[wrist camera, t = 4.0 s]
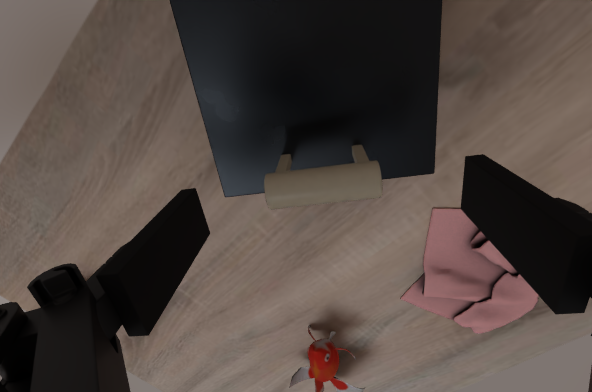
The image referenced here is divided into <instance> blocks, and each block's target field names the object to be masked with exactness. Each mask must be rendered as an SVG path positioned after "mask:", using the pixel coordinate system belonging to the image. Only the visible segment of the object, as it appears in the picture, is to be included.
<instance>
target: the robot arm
mask: <svg viewBox="0 0 592 392" xmlns="http://www.w3.org/2000/svg"><path fill="white" fill-rule="evenodd" d="M461 210H462V211H463V212H464V213H465V214H466V216H467V217H468V218H469V219H470V220H471V221H472V222H473V223H474V224H475V226H476V227H477V228H478V229H479V230H480V231H481V232H482V233H483V234H484V235H485V237H486V238H487V239H488V240H489V241H490V242H491V243H492V244H493V245H494V247H495V248H496V249H497V250H498V251H499V252H500V253H501V254H502V255H503V257H504V258H505V259H506V260H507V261H508V262H509V263H510V264H511V265H512V266H513V268H514V269H515V270H516V271H517V272H518V273H519V274H520V275H521V276H522V278H523V279H524V280H525V281H526V282H527V283H528V284H529V285H530V286H531V287H532V289H533V290H534V291H535V292H536V293H537V294H538V295H539V296H540V297H541V299H542V300H543V301H544V302H545V303H546V304H547V305H548V306H549V307H550V309H551V310H552V311H553V312H554V313H555V314H571V313H584V312H585V309H586V306H587V303H588V300H589V298H590V297H591V298H592V213H589V212H588V211H587V210H585V209H584V208H582V207H580V206H579V205H577V204H575V203H572V202H569V201H566V200H563V199H560V198H553V197H551V196H550V195H548V194H546V193H545V192H543V191H541V190H540V189H538V188H537V187H535V186H533V185H532V184H530V183H529V182H527V181H525V180H524V179H522V178H521V177H519V176H517V175H516V174H514V173H512V172H511V171H509V170H508V169H506V168H504V167H503V166H501V165H500V164H498V163H496V162H495V161H493V160H492V159H490V158H488V157H487V156H485V155H483V154H482V155H474V156H465V167H464V178H463V189H462V201H461ZM209 235H210V231H209V228H208V225H207V222H206V219H205V216H204V213H203V209H202V206H201V203H200V200H199V197H198V194H197V191H196V188H193V189H185V190H181V191H180V192H179V193H178V194H177V195H176V196H175V197H174V198H173V199H172V200H171V201H170V202H169V203H168V204H167V205H166V206H165V207H164V208H163V209H162V210H161V211H160V212H159V213H158V214H157V215H156V216H155V217H154V218H153V219H152V220H151V221H150V222H149V223H148V224H147V225H146V226H145V227H144V228H143V229H142V230H141V231H140V232H139V233H138V234H137V235H136V236H135V237H134V238H133V239H132V240H131V241H130V242H128V243H127V244H125V245H124V246H122V247H120V248H119V249H118V250H117V251H116V252H115V253H114V254H113V255H112V256H113V257H110V258H109V259H108V260H107V261H106V264H103V265H102V266H101V267H100V268H99V269H98V270H97V271H96V272H95V273H94V274H93V275H92V276H91V277H90V278H89V279H88V280H87V281H85V279H84V278H83V276H82V274H81V272H80V271H79V269H78V267H77V266H76V264H71V263H70V264H63V265H60V266H57V267H54V268H52V269H50V270H48V271H46V272H44V273H42V274H41V275H39V276H37V277H36V278H35V279H34V280H33V281H31V282H30V284H29V285H28V287H27V288H28V289H29V291H30V292H31V294H32V295H33V297H34V298H35V299H36V301H37V302H38V304H39V305H40V307H41V308H38V309H35V310H31V311H28V312H24V311H23V310H22V309H21V307H20V306H19V305H18V303H17V302H10V303H5V304H2V305H0V375H1V376H2V380H1V382H0V392H130V388H129V383H128V378H127V373H126V368H125V364H124V359H123V354H122V349H121V344H120V340H119V339H118V337H117V335H116V332H117V331H118V330H119V328H120V327H121V325H123V327H124V328H125V330H126V332H127V334H128V336H147V335H149V334H150V332H151V331H152V329H153V327H154V326H155V324H156V322H157V321H158V319H159V317H160V316H161V314H162V313H163V311H164V309H165V308H166V306H167V304H168V303H169V301H170V299H171V298H172V296H173V294H174V293H175V291H176V289H177V288H178V286H179V284H180V283H181V281H182V279H183V278H184V276H185V274H186V273H187V271H188V269H189V268H190V266H191V264H192V263H193V261H194V259H195V258H196V256H197V254H198V253H199V251H200V249H201V248H202V246H203V244H204V243H205V241H206V240H207V238H208V236H209ZM591 336H592V334H591ZM588 392H592V367H591V375H590V383H589V391H588Z"/></svg>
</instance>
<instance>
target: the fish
mask: <svg viewBox="0 0 592 392" xmlns="http://www.w3.org/2000/svg"><path fill="white" fill-rule="evenodd" d="M309 328H310V325H309V326H308V332H309V334H310V335H311V332H310V330H309ZM335 333H336V332H335V331H331V333H330V338H329V339H320V340H317V341H316V340H315V339H314V338H313V336H312V335H311V337H312V338H313V339H314V340H315V342H313V343H312V344H311V345H310V347H309V348H308V351H307V353H308V357H309V360H310V367H301V368H300V369H299V370H298V371H297V372H296V373H295V374H294V375H293V376H292V380H291V383H290V387H291V386H293V385H295V384H296V383H298V382H300V381H303V380H306V379H310V378H315V392H323V391H324V385H323V382H326V381H329V380H330V381H331V382H332V383H333V385H334V386H335V388H336V390H337V392H363V391H364V389H365V388H366V387H365V388H363V389H362V388H356V387H354V386H351V385H349V384H347V383H346V382H344V381H342V380H340V379H338V378H336V377H334V376H335V374H336V372H337V370H338V367H339V354H338V351H337V350H346V351H348V350H347V349H343V348H336V347H335V345H334V344H333V343H332V342H331V341H330V340H331V338H332V336H333V335H335ZM348 352H349V353H351V352H350V351H348ZM351 354H352V353H351ZM352 356H353V357H354V355H353V354H352ZM354 358H355V357H354ZM355 359H356V358H355ZM290 387H289V388H290Z"/></svg>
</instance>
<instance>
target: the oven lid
mask: <svg viewBox="0 0 592 392" xmlns="http://www.w3.org/2000/svg"><path fill="white" fill-rule="evenodd" d="M170 4H171V7H172V11H173V14H174V18H175V21H176V25H177V29H178V32H179V36H180V39H181V43H182V46H183V50H184V53H185V57H186V60H187V64H188V68H189V71H190V75H191V78H192V82H193V85H194V89H195V92H196V96H197V100H198V103H199V107H200V110H201V114H202V117H203V121H204V124H205V128H206V131H207V135H208V139H209V142H210V146H211V149H212V153H213V156H214V160H215V163H216V167H217V171H218V174H219V178H220V181H221V185H222V188H223V192H224V195H225V197H233V196H241V195H250V194H259V193H265V197H266V202H267V205H268V207H269V209H280V208H290V207H299V206H309V205H318V204H327V203H337V202H346V201H355V200H365V199H374V198H381V196H382V179H391V178H399V177H408V176H417V175H426V174H434V170H435V148H436V126H437V104H438V81H439V59H440V37H441V15H442V0H170Z"/></svg>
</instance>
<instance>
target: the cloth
mask: <svg viewBox="0 0 592 392" xmlns="http://www.w3.org/2000/svg"><path fill="white" fill-rule="evenodd" d="M423 265H424V271H425V273H424V274H423V275H422V276H421V277H420V278H419V280H417V281H416V282H415V283H414V284H413V285H412V286H411V287H410V288H409V289H408V290H407V291H406V293H405V294H404V295H403V296H402V297H401V298H400V299H402V300H404V301H406V302H409V303H411V304H413V305H415V306H418V307H420V308H423V309H425V310H428V311H430V312H432V313H435V314H438V315H441V316H444V317H446V318H448V319H451V320H454V321H455V322H457V323H458V324H459V325H461V326H463V327H471V328H472V330H473V331H474V332H475V333H477V334H478V333H484V332H488V331H491V330H493V329H494V328H499V327H502V326H504V325H506V324H508V323H510V322H511V321H514V320H516V319H518V318H520V317H521V316H523V315H524V314H525V313H527V312H528V311H530V310H532V309H533V308H534V307H535V305H536V304H537V302H538V298H537V297H538V296H539V295H538V294H537V293H536V292H535V291H534V290H533V289H532V287H531V286H530V285H529V284H528V283H527V282H526V281H525V280H524V279H523V278H522V276H521V275H520V274H519V273H518V272H517V271H516V270H515V269H514V268H513V266H512V265H511V264H510V263H509V262H508V261H507V260H506V259H505V258H504V257H503V255H502V254H501V253H500V252H499V251H498V250H497V249H496V248H495V247H494V245H493V244H492V243H491V242H490V241H489V240H488V239H487V238H486V237H485V235H484V234H483V233H482V232H481V231H480V230H479V229H478V228H477V227H476V226H475V224H474V223H473V222H472V221H471V220H470V219H469V218H468V217H467V216H466V214H465V213H464V212H463V211H462V210H461V209H451V208H433V210H432V215H431V219H430V225H429V231H428V236H427V241H426V248H425V253H424V261H423Z"/></svg>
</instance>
